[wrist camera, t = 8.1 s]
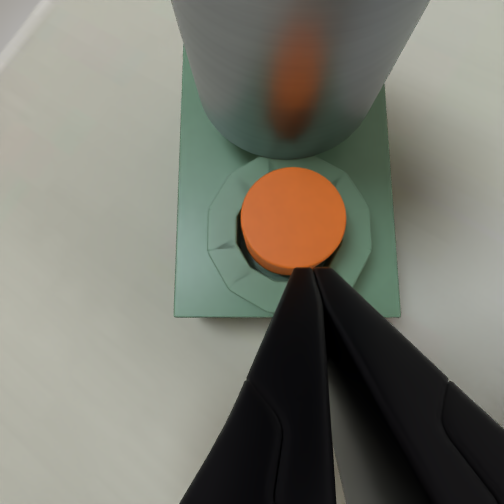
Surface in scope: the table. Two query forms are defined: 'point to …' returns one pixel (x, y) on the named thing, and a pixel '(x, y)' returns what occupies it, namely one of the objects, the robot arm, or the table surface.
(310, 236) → the button
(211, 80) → the kettle
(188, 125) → the kettle base
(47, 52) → the table surface
